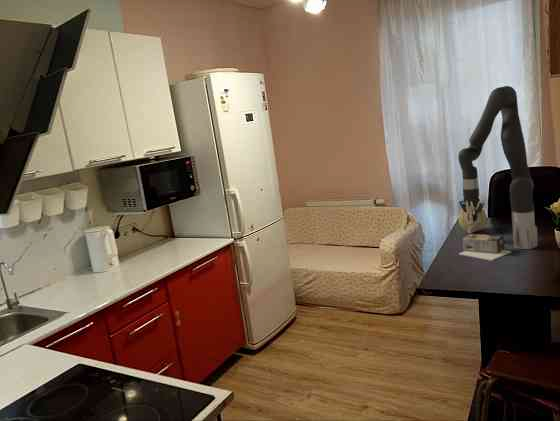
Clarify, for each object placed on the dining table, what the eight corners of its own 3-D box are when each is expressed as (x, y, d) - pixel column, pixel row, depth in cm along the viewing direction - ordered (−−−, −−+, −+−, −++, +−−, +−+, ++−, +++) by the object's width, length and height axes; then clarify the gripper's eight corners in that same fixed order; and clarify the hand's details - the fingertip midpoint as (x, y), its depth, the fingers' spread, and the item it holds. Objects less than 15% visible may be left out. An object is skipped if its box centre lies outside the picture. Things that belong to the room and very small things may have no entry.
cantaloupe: (470, 236, 243) (469, 209, 240) (453, 231, 257) (451, 205, 254) (494, 231, 246) (492, 204, 244) (475, 226, 260) (474, 201, 258)
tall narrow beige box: (480, 227, 234) (477, 203, 231) (471, 233, 230) (467, 209, 227) (477, 226, 236) (473, 203, 232) (467, 232, 232) (463, 208, 229)
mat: (511, 252, 210) (511, 251, 210) (491, 260, 202) (491, 259, 202) (478, 246, 224) (478, 245, 224) (458, 254, 217) (458, 253, 217)
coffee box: (469, 233, 225) (504, 235, 214) (470, 245, 226) (504, 248, 215) (462, 238, 218) (498, 240, 208) (463, 251, 219) (498, 253, 209)
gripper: (487, 186, 224) (489, 220, 228) (463, 185, 236) (465, 217, 239) (478, 189, 221) (480, 223, 224) (454, 188, 232) (456, 221, 236)
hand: (472, 220), depth 232 cm, fingers closed on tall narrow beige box, 2 cm apart
